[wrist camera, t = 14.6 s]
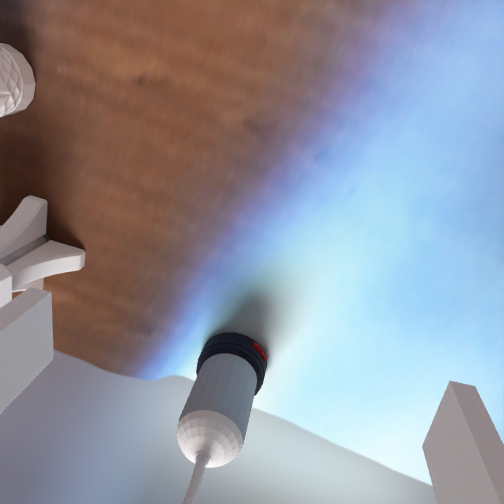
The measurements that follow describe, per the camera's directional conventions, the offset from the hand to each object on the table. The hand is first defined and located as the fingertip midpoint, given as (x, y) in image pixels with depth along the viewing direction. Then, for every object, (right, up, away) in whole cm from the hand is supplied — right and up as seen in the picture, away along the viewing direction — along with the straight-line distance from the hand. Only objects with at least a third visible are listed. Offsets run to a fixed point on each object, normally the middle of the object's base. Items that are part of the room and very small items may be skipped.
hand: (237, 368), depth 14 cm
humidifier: (-2, -9, +39) cm, 40 cm away
